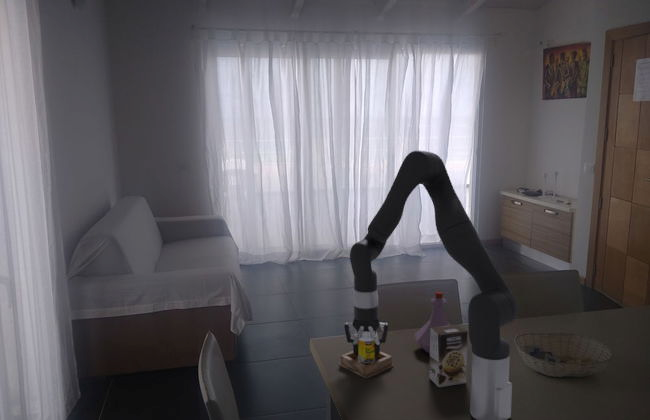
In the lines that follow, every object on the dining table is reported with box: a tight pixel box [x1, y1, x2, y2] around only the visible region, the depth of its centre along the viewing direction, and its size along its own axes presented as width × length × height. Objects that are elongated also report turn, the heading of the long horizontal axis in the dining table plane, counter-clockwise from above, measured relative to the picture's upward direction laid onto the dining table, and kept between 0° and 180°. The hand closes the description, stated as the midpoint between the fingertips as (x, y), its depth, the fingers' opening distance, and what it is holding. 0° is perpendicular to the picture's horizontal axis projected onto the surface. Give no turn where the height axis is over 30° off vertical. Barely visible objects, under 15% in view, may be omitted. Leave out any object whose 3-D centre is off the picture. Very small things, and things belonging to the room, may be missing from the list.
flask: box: [413, 291, 451, 354], centre depth 170 cm, size 16×16×20 cm
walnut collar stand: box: [339, 350, 394, 380], centre depth 161 cm, size 12×12×3 cm
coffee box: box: [428, 324, 469, 388], centre depth 149 cm, size 9×6×16 cm
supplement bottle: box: [358, 331, 375, 364], centre depth 160 cm, size 6×6×10 cm
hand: (366, 354), depth 160 cm, fingers closed on supplement bottle, 5 cm apart
